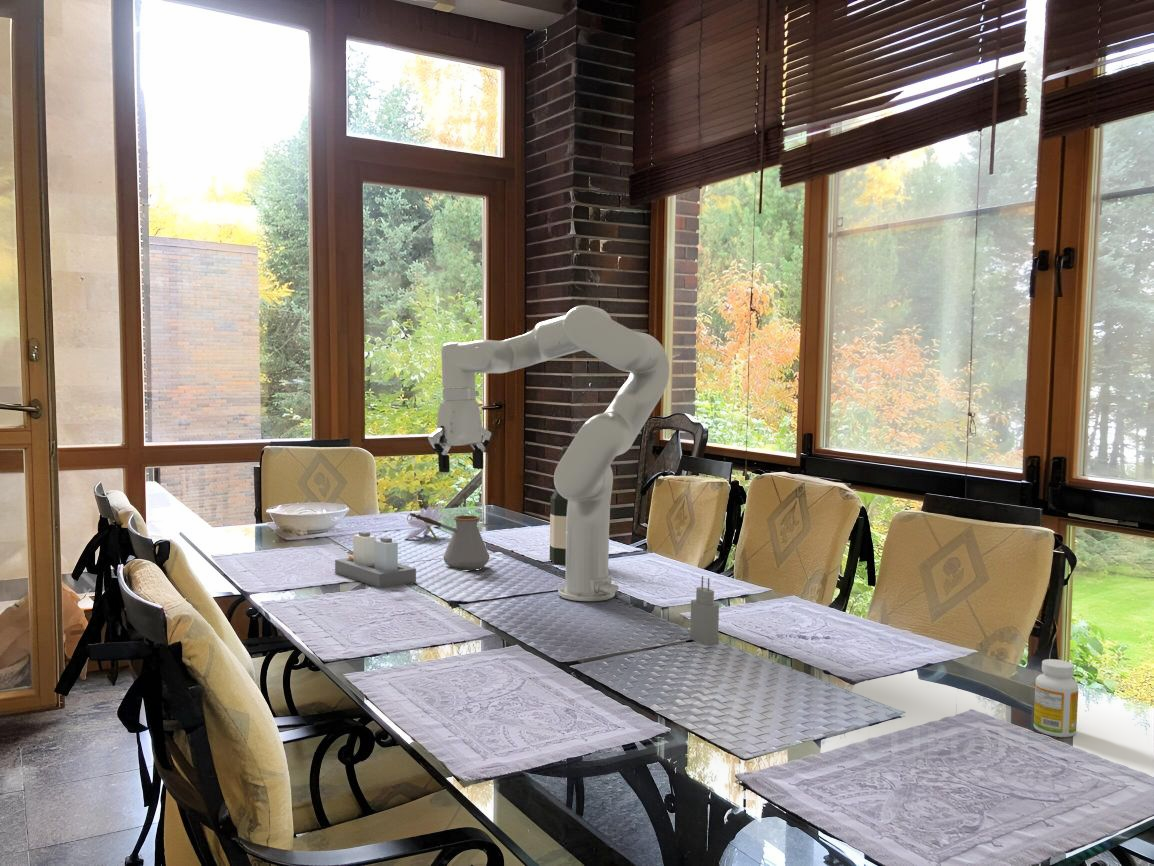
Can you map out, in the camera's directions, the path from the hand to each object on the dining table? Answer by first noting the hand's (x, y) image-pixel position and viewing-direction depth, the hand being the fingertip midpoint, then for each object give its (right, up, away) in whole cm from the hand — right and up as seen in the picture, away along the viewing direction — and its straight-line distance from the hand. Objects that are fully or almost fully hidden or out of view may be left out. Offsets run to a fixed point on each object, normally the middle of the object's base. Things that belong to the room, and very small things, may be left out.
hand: (461, 470), depth 212 cm
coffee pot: (-5, -26, +15) cm, 30 cm away
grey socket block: (-20, -26, +2) cm, 33 cm away
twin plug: (-24, -25, +5) cm, 35 cm away
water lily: (-18, -23, +58) cm, 65 cm away
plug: (-17, -25, -2) cm, 30 cm away
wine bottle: (+24, -25, +28) cm, 44 cm away
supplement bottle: (+94, -34, -82) cm, 130 cm away
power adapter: (+50, -30, -41) cm, 72 cm away
